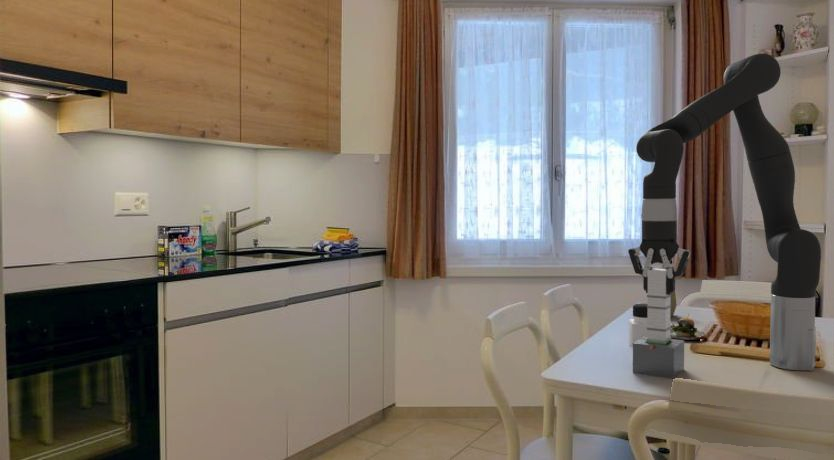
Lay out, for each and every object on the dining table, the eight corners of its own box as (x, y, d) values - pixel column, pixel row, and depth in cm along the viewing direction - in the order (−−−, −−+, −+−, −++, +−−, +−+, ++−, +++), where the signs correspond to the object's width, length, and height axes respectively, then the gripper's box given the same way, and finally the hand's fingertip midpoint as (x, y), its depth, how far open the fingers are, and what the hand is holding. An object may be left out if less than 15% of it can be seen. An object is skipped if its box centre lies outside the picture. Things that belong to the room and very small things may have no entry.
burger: (653, 336, 191) (653, 311, 191) (686, 332, 195) (686, 308, 194) (681, 344, 180) (681, 318, 179) (715, 341, 183) (716, 315, 183)
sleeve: (703, 373, 150) (703, 339, 150) (686, 390, 137) (686, 353, 137) (634, 363, 160) (634, 331, 159) (612, 378, 147) (612, 344, 146)
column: (670, 346, 149) (671, 269, 148) (665, 350, 145) (666, 271, 144) (651, 344, 151) (652, 268, 150) (646, 348, 148) (646, 270, 147)
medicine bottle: (660, 351, 172) (660, 306, 171) (632, 350, 173) (632, 305, 173) (655, 344, 179) (656, 302, 178) (629, 344, 180) (629, 301, 180)
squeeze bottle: (646, 314, 223) (646, 262, 222) (665, 312, 225) (666, 261, 224) (661, 318, 215) (662, 265, 214) (681, 316, 218) (682, 263, 217)
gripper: (696, 218, 145) (695, 293, 146) (633, 217, 154) (632, 289, 155) (688, 219, 139) (687, 298, 140) (622, 219, 148) (622, 293, 149)
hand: (659, 293), depth 148 cm, fingers closed on column, 4 cm apart
